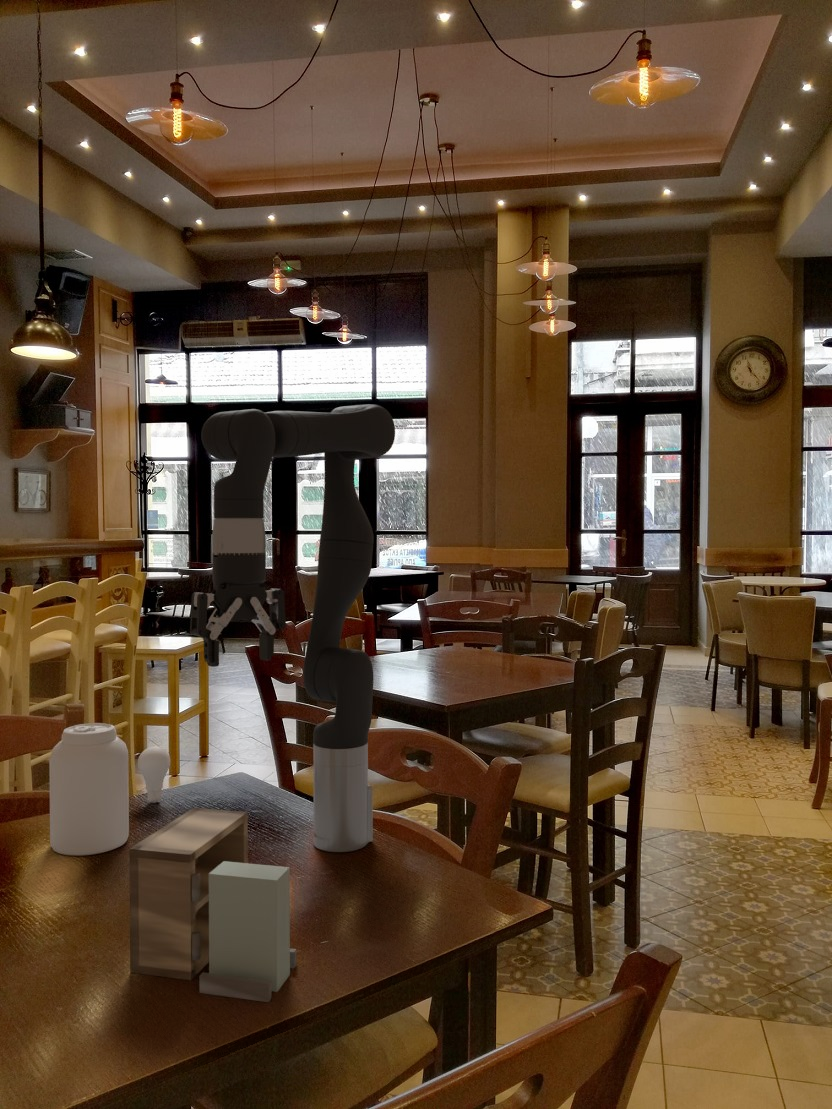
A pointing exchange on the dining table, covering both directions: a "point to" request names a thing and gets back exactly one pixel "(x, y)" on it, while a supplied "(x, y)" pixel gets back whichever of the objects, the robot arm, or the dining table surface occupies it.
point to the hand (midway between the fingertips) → (239, 662)
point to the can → (89, 790)
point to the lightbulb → (154, 770)
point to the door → (250, 922)
